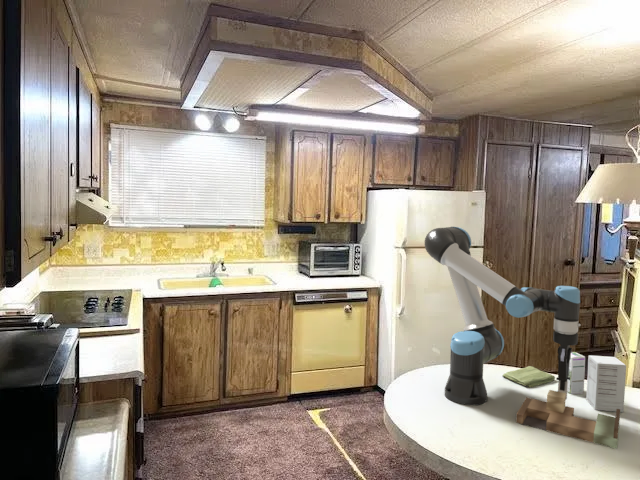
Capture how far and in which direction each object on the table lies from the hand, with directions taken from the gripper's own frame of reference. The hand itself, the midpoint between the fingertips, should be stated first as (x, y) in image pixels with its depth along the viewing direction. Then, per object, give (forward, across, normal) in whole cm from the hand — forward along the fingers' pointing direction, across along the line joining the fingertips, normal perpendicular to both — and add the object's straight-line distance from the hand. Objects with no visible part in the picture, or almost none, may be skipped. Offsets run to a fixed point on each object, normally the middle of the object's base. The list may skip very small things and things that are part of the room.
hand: (562, 397), depth 163 cm
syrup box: (+5, +21, -1) cm, 22 cm away
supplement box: (+5, +13, -12) cm, 18 cm away
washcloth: (+5, +24, +15) cm, 29 cm away
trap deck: (+4, -11, -3) cm, 12 cm away
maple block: (+1, -7, +1) cm, 7 cm away
